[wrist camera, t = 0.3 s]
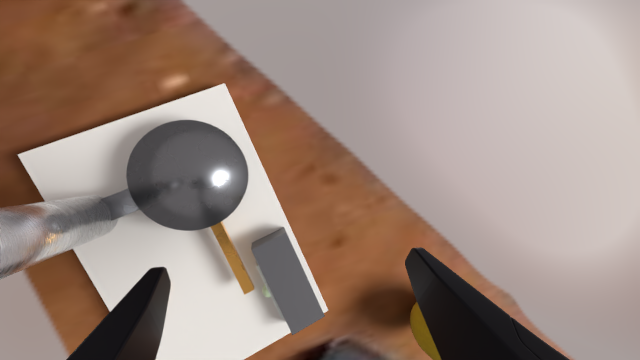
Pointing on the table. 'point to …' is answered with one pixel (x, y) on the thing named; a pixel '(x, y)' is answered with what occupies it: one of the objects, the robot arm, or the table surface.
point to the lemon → (422, 333)
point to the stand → (188, 239)
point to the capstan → (141, 198)
